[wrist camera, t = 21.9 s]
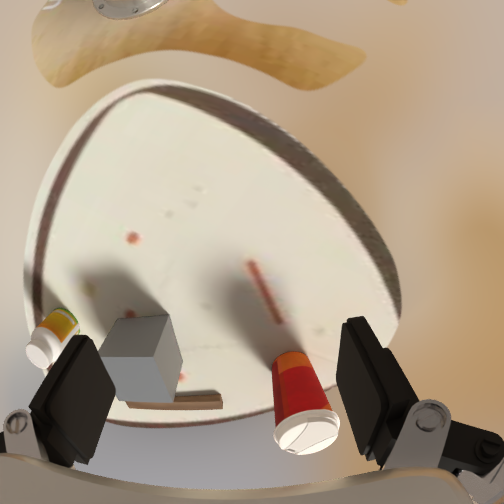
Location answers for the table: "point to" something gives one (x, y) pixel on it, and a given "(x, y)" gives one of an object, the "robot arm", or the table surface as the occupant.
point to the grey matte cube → (143, 359)
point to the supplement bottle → (51, 337)
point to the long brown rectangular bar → (183, 403)
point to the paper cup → (301, 406)
